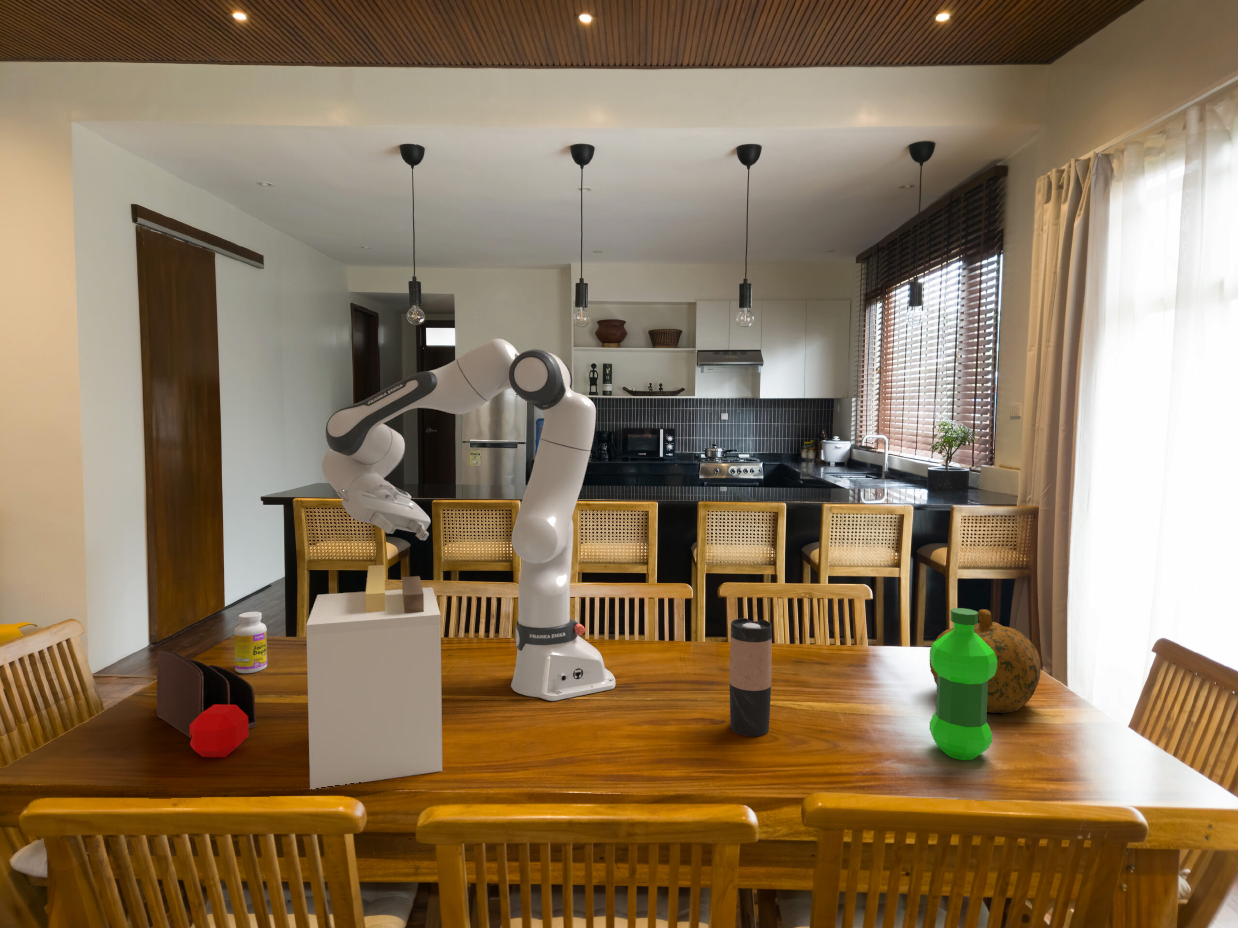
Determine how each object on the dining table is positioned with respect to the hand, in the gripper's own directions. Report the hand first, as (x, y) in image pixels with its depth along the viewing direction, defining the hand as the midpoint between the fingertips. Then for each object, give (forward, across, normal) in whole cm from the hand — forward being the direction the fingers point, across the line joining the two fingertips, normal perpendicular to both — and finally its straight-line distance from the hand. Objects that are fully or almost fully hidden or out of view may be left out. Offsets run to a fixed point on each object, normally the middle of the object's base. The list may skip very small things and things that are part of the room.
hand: (408, 533), depth 146 cm
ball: (+10, -22, +43) cm, 49 cm away
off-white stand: (+30, -10, +28) cm, 42 cm away
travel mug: (+71, +29, -8) cm, 77 cm away
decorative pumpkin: (+99, +63, -35) cm, 123 cm away
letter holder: (-3, -16, +48) cm, 51 cm away
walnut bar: (+21, -14, +3) cm, 25 cm away
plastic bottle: (+100, +36, -27) cm, 110 cm away
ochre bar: (+12, -13, +7) cm, 19 cm away
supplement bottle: (-22, +5, +52) cm, 57 cm away
